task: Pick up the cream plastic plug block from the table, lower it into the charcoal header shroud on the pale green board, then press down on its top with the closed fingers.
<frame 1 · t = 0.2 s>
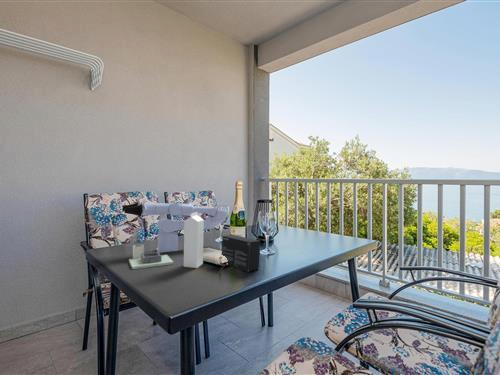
hand: (123, 209, 128), 21 cm above the table, tool horizontal, fingers open, 7 cm apart
milk: (193, 265, 116), on the table
plug: (138, 259, 123), on the table
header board: (150, 262, 118), on the table
box: (239, 266, 116), on the table
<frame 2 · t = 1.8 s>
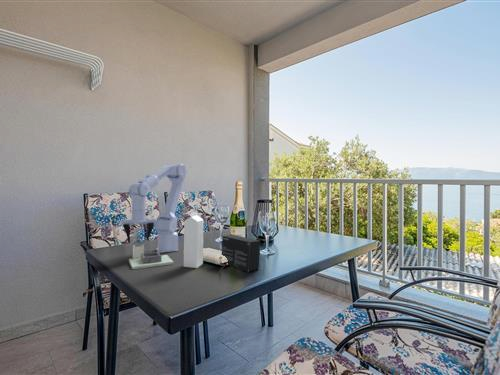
hand: (138, 240, 123), 8 cm above the table, tool pointing down, fingers open, 7 cm apart
nothing on the table moved.
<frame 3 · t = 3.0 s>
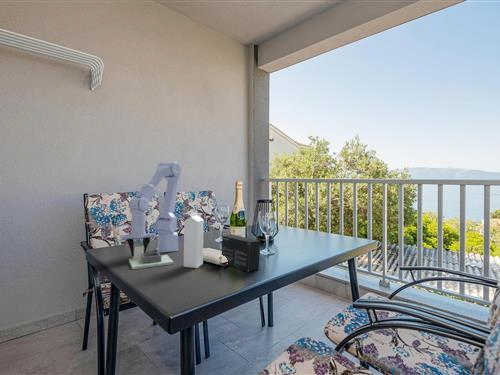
hand: (138, 255, 123), 2 cm above the table, tool pointing down, fingers closed on plug, 4 cm apart
plug: (138, 259, 123), on the table, touching gripper
everything else where it was.
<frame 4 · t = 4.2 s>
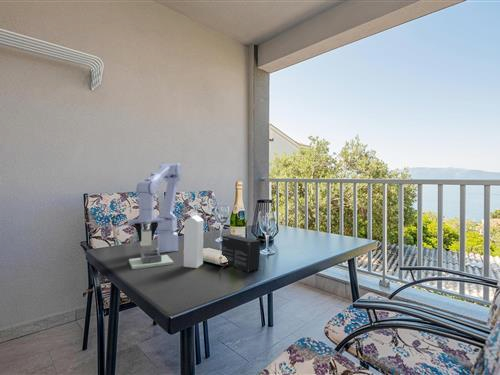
hand: (145, 240, 119), 9 cm above the table, tool pointing down, fingers closed on plug, 4 cm apart
plug: (145, 244, 120), point 7 cm above the table, touching gripper
everything else where it was.
when the fingers open (4 cm above the table, at t = 5.8 s): plug drops 1 cm, resting on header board.
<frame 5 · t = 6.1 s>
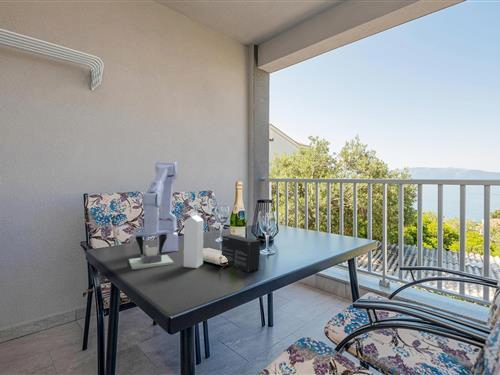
hand: (151, 253, 118), 4 cm above the table, tool pointing down, fingers open, 7 cm apart
plug: (150, 260, 118), point 1 cm above the table, touching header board
everything else where it was.
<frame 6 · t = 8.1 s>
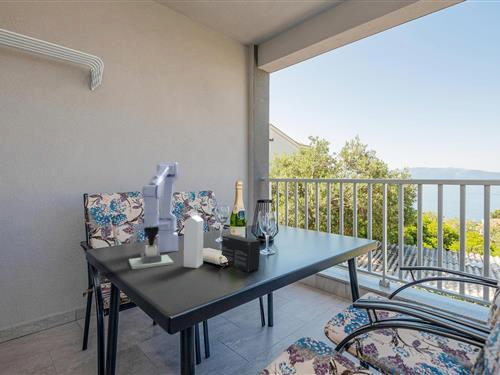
hand: (151, 245, 117), 7 cm above the table, tool pointing down, fingers closed, pressing on plug
plug: (150, 260, 118), point 1 cm above the table, touching gripper, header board
everything else where it was.
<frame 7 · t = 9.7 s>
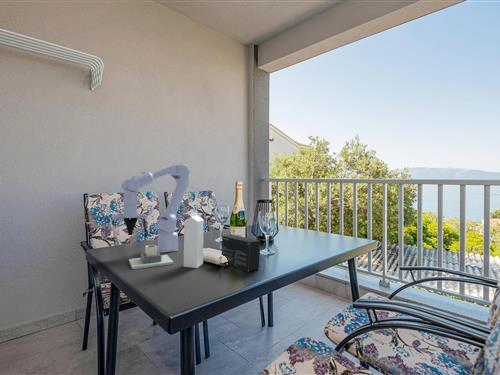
hand: (130, 234, 126), 10 cm above the table, tool pointing down, fingers closed
plug: (150, 260, 118), point 1 cm above the table, touching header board
everything else where it was.
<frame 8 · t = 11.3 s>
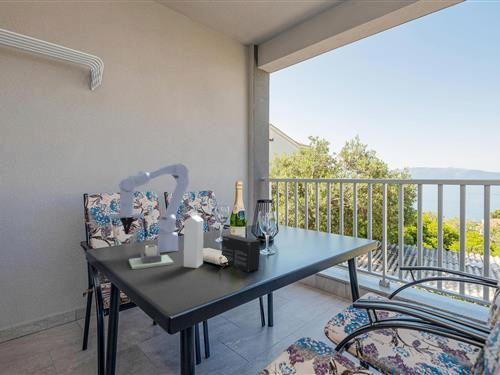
hand: (126, 234, 128), 10 cm above the table, tool pointing down, fingers closed
nothing on the table moved.
at the end: plug 0.0 cm off-centre on the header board, point 1.0 cm above the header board's base; plug tilted 0°; the gripper is holding nothing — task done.
